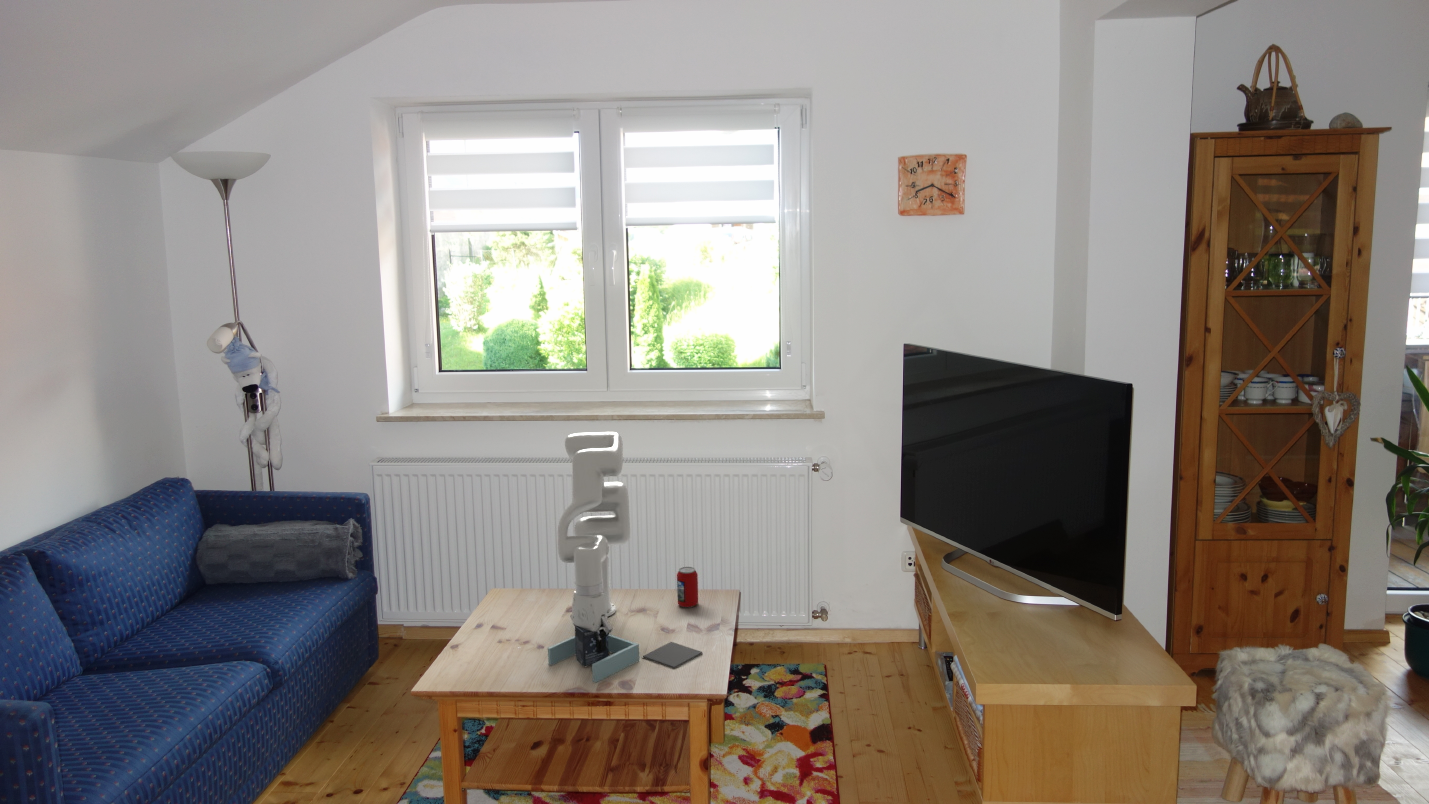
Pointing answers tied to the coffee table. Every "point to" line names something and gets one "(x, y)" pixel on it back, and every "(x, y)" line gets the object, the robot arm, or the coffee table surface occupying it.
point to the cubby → (621, 658)
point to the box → (588, 647)
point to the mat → (672, 655)
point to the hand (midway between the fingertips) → (592, 647)
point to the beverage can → (687, 587)
